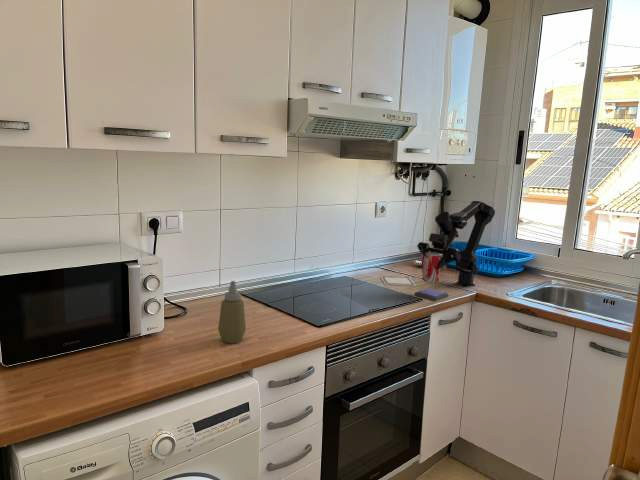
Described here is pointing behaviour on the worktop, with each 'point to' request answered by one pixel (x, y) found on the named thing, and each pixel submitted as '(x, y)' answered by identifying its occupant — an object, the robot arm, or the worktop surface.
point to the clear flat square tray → (397, 281)
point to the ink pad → (431, 294)
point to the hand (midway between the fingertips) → (429, 267)
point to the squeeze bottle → (232, 316)
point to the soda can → (431, 267)
